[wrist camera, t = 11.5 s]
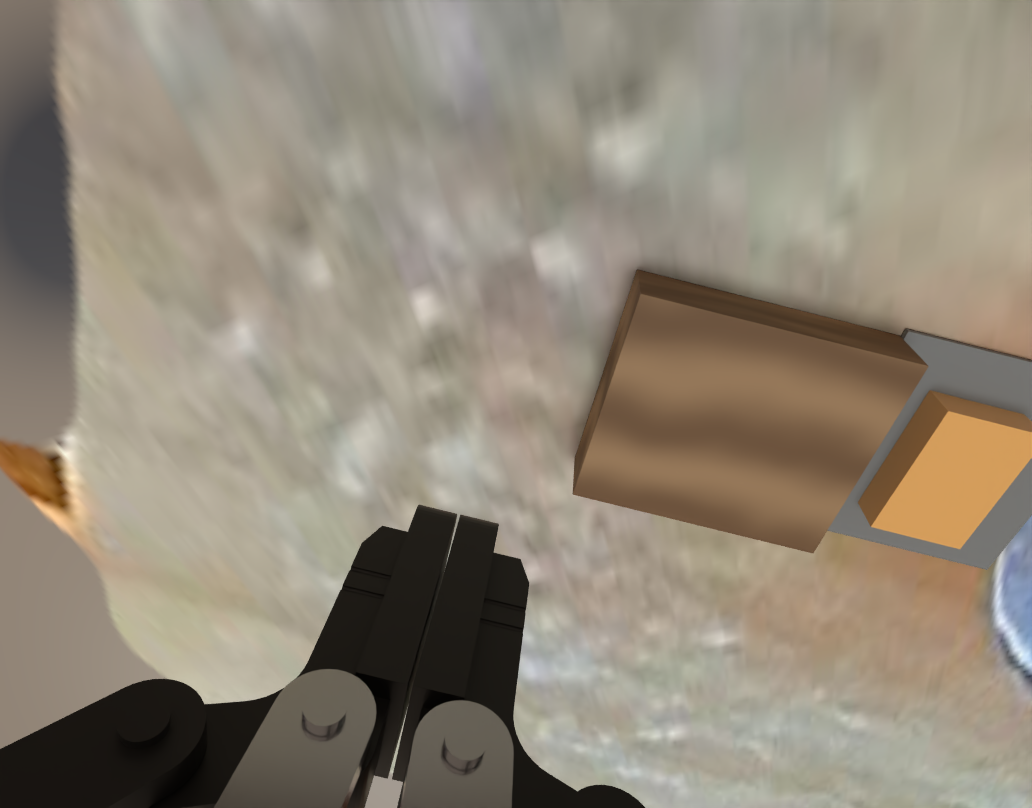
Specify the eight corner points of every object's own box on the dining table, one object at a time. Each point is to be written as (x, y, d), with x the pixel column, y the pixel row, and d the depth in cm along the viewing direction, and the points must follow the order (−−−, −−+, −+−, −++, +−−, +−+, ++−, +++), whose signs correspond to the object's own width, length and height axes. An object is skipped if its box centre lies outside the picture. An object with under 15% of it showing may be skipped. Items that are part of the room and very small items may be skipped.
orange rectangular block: (1048, 436, 38) (1024, 414, 40) (948, 411, 38) (929, 390, 40) (960, 549, 43) (942, 523, 45) (870, 527, 43) (857, 502, 45)
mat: (905, 328, 39) (908, 331, 38) (1130, 385, 39) (1135, 388, 39) (795, 519, 46) (796, 523, 46) (984, 565, 47) (986, 569, 46)
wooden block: (637, 269, 39) (640, 293, 35) (899, 335, 39) (928, 366, 36) (574, 458, 46) (572, 494, 42) (797, 513, 46) (813, 553, 43)
